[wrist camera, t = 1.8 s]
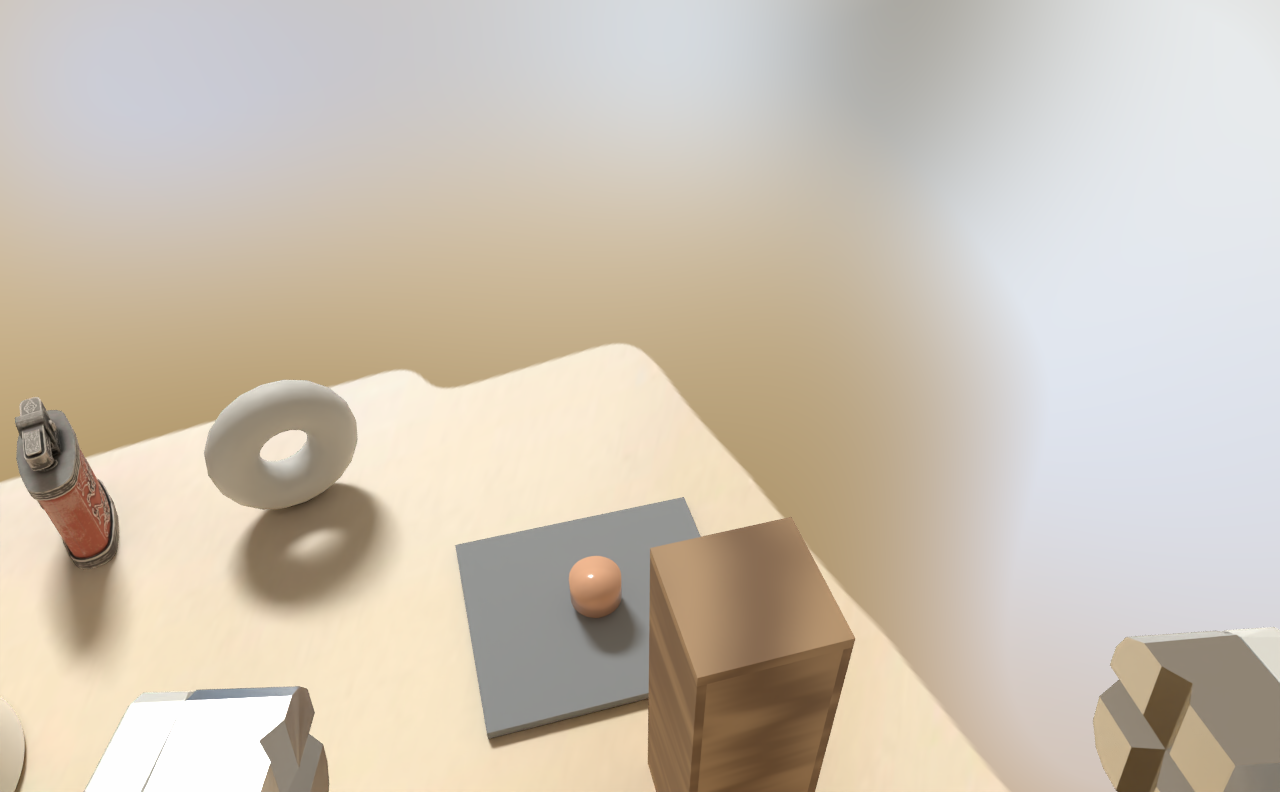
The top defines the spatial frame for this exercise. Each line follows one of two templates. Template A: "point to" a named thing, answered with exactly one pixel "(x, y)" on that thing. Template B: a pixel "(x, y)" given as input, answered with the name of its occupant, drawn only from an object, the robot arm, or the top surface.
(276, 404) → the donut
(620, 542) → the mat
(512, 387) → the top surface
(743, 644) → the block
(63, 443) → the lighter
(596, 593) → the peach round lump
